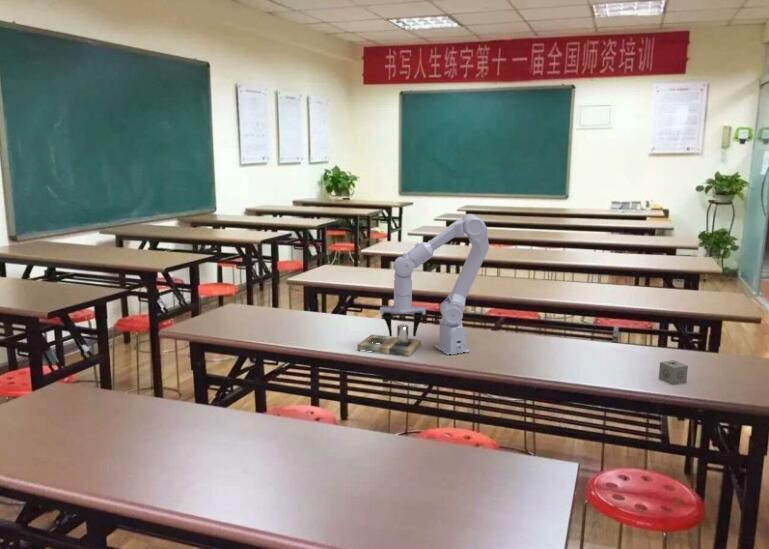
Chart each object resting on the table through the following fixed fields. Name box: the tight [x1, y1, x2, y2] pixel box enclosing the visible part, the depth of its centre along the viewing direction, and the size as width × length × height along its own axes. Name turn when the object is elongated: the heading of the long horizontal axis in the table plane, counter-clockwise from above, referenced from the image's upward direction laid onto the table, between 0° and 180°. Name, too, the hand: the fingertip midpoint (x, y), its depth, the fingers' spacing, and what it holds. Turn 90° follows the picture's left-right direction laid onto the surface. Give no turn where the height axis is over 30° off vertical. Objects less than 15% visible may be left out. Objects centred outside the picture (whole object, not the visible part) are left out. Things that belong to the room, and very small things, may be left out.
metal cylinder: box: [396, 323, 409, 347], centre depth 202 cm, size 4×4×8 cm
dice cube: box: [658, 359, 689, 386], centre depth 175 cm, size 5×5×5 cm
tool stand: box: [357, 334, 422, 358], centre depth 204 cm, size 18×12×2 cm
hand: (402, 335), depth 202 cm, fingers open, 7 cm apart
